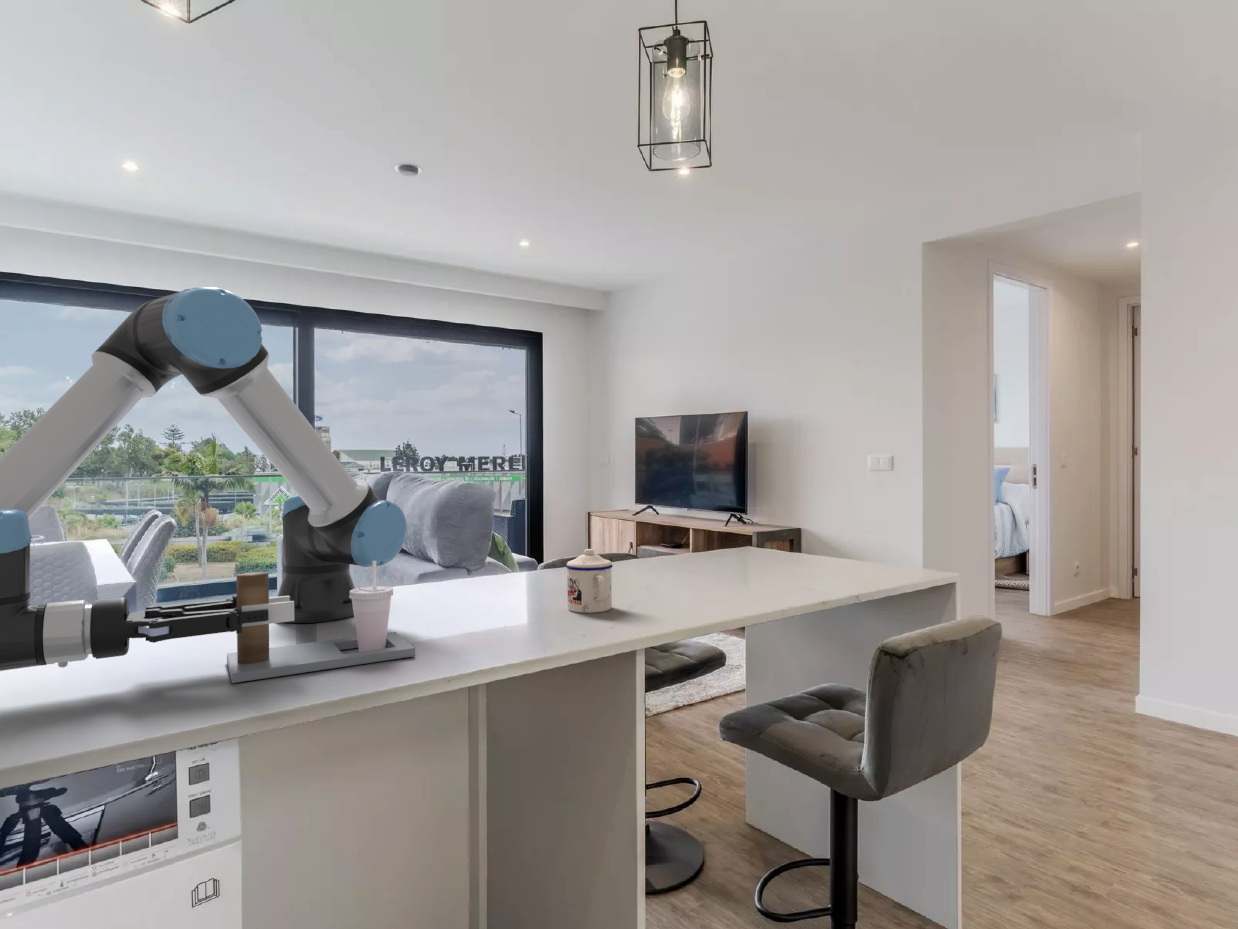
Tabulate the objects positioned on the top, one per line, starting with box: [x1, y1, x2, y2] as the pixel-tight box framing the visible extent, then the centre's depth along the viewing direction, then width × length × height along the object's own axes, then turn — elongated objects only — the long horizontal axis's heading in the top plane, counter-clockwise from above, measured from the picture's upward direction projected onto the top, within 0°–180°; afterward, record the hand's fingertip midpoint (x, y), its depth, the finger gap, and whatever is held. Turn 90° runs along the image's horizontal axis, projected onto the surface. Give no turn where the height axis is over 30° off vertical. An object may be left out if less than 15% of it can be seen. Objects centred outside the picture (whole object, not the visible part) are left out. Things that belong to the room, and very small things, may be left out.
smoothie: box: [349, 561, 394, 652], centre depth 109 cm, size 6×6×14 cm
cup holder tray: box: [226, 571, 416, 684], centre depth 106 cm, size 12×24×13 cm, turn 121°
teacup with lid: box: [565, 548, 613, 614], centre depth 139 cm, size 12×9×12 cm
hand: (291, 607), depth 103 cm, fingers closed on cup holder tray, 4 cm apart
